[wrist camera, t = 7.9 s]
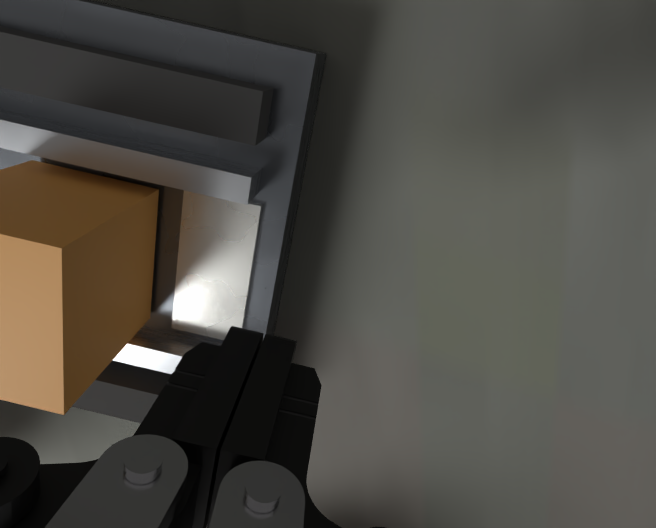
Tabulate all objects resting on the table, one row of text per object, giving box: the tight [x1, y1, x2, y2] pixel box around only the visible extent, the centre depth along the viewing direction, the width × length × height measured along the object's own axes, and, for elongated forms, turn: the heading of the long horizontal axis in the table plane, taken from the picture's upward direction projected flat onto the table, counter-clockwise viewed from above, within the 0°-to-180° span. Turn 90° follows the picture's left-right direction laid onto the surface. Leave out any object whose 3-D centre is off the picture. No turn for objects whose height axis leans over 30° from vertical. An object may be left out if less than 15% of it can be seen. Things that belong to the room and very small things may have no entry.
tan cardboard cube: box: [0, 160, 159, 415], centre depth 14 cm, size 4×5×5 cm
